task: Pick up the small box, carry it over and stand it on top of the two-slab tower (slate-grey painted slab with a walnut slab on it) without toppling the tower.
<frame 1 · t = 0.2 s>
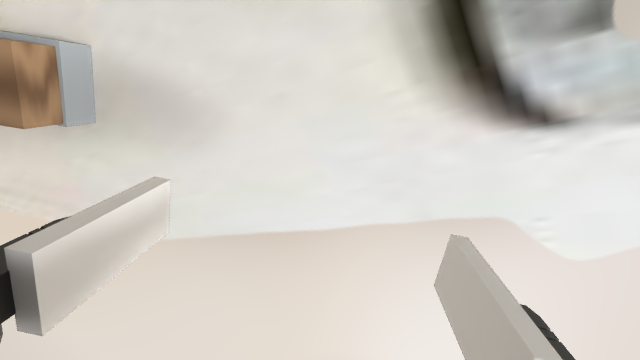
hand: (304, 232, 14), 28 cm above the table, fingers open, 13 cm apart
walnut slab: (24, 80, 38), point 5 cm above the table, touching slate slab
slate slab: (60, 79, 42), on the table, touching walnut slab
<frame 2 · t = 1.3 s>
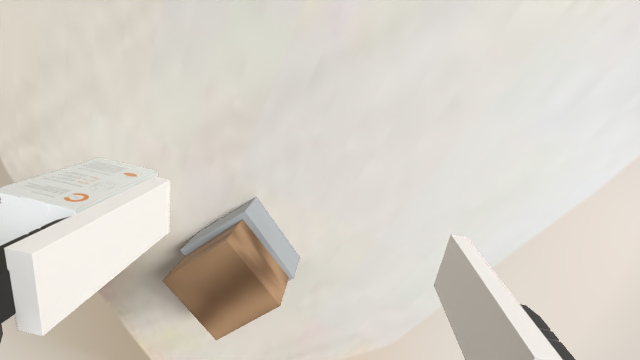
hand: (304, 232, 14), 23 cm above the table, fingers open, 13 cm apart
walnut slab: (237, 266, 37), point 5 cm above the table, touching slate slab
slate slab: (249, 243, 42), on the table, touching walnut slab
small box: (130, 185, 41), on the table
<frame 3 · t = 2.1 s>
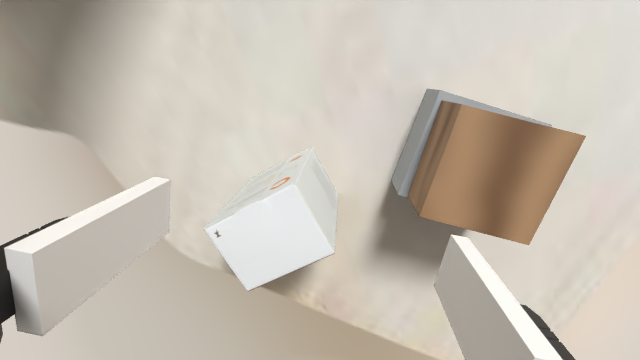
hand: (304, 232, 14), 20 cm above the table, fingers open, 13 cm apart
walnut slab: (472, 162, 28), point 5 cm above the table, touching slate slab
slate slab: (452, 150, 33), on the table, touching walnut slab
small box: (296, 184, 35), on the table
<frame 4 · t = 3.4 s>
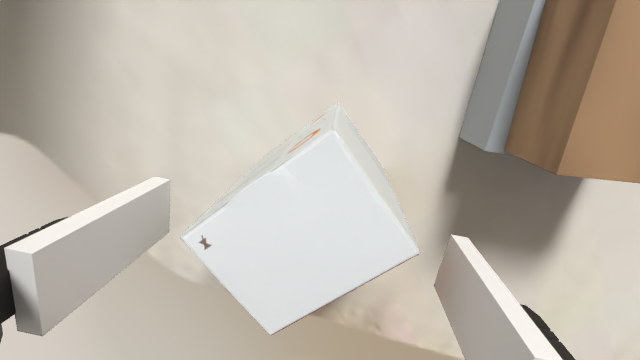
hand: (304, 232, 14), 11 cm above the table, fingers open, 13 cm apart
walnut slab: (609, 79, 17), point 5 cm above the table, touching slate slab
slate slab: (548, 78, 22), on the table, touching walnut slab
small box: (321, 162, 25), on the table
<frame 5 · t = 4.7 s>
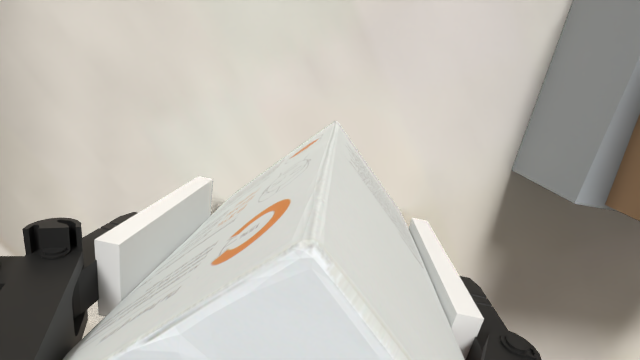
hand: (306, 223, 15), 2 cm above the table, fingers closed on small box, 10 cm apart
small box: (312, 204, 18), on the table, touching gripper
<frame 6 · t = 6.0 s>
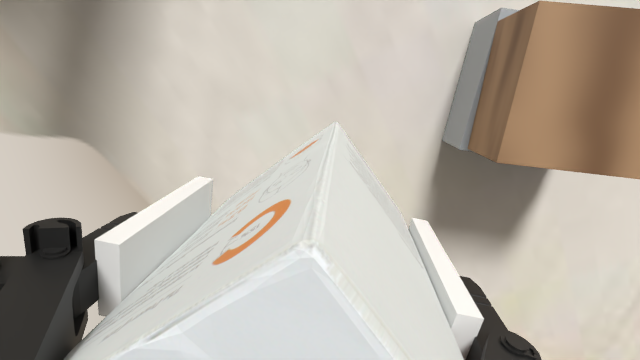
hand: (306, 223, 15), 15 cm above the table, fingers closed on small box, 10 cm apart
walnut slab: (545, 94, 22), point 5 cm above the table, touching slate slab
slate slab: (513, 94, 27), on the table, touching walnut slab
small box: (312, 204, 18), point 13 cm above the table, touching gripper
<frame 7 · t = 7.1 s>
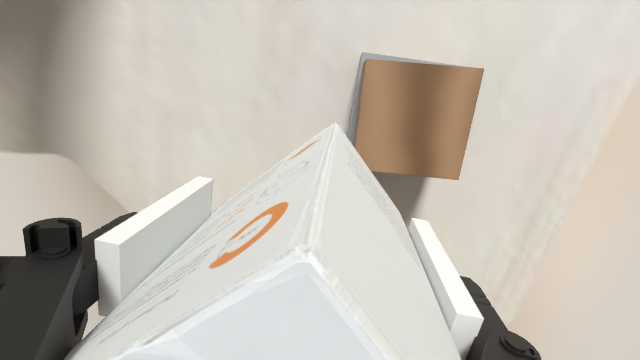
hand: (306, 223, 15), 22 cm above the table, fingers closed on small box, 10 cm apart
walnut slab: (404, 115, 30), point 5 cm above the table
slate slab: (396, 110, 35), on the table
small box: (311, 205, 18), point 20 cm above the table, touching gripper
when the fingers open (13 cm above the table, at t = 9.7 s): small box drops 1 cm, resting on walnut slab.
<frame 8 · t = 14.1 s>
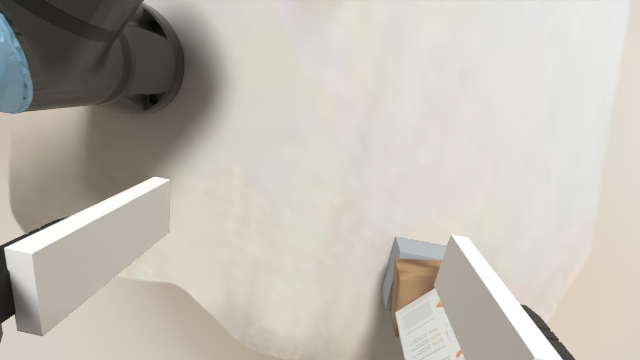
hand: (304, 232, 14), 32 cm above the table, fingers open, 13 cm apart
walnut slab: (423, 286, 45), point 5 cm above the table, touching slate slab, small box
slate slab: (418, 268, 50), on the table, touching walnut slab
small box: (433, 311, 41), point 9 cm above the table, touching walnut slab
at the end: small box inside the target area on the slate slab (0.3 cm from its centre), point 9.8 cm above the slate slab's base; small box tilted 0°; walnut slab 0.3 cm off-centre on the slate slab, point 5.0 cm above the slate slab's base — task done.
